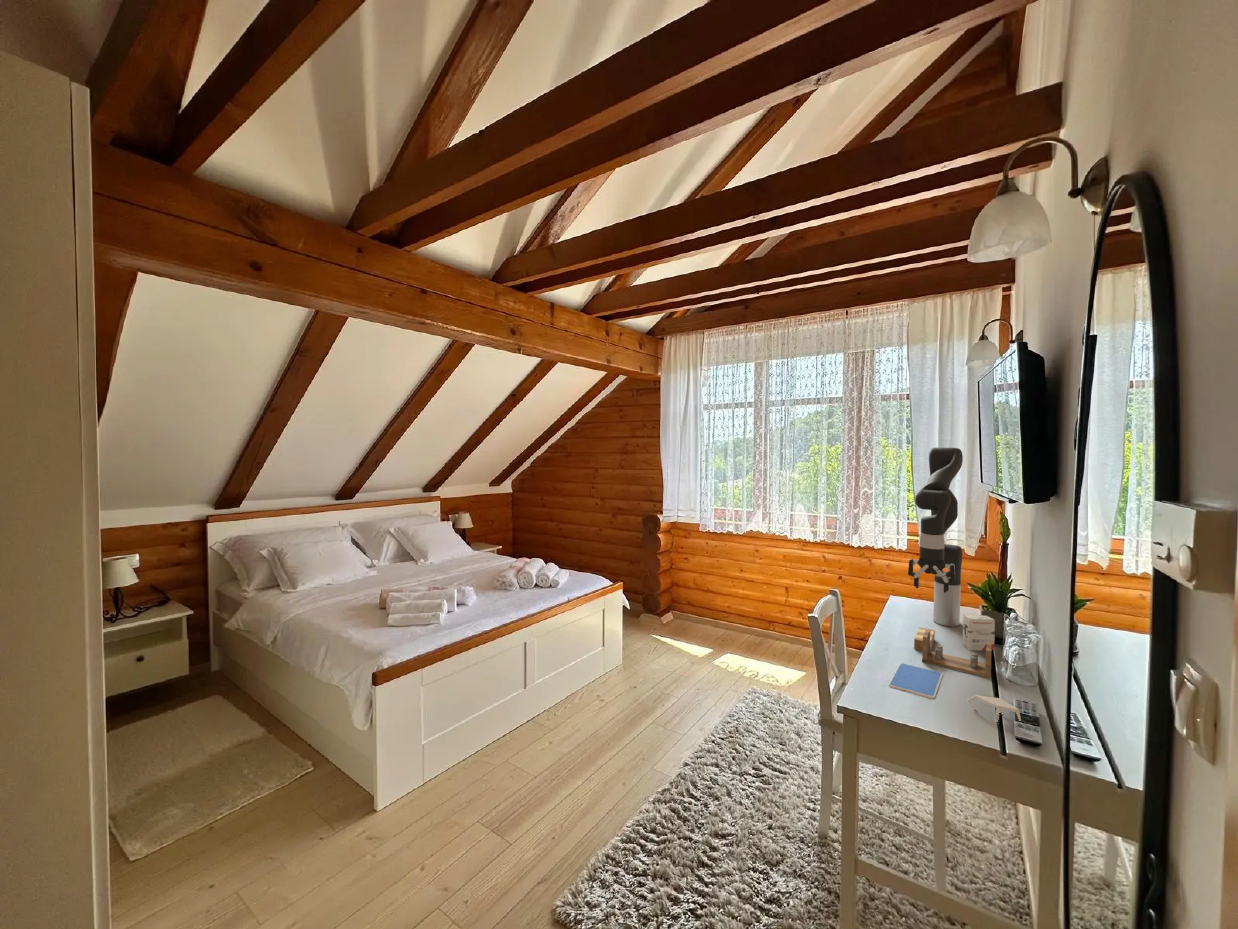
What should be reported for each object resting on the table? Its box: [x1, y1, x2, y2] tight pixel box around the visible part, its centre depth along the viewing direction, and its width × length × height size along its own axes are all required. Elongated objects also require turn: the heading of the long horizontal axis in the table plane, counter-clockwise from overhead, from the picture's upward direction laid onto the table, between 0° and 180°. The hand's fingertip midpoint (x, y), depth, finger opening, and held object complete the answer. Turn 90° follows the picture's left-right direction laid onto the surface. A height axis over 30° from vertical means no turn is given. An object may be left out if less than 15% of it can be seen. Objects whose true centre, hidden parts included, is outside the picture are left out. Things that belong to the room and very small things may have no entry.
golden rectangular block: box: [913, 627, 936, 651], centre depth 187 cm, size 14×5×4 cm, turn 142°
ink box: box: [962, 614, 996, 652], centre depth 183 cm, size 9×5×12 cm, turn 84°
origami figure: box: [966, 694, 1022, 723], centre depth 139 cm, size 12×8×5 cm
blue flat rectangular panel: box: [887, 662, 943, 700], centre depth 159 cm, size 19×13×1 cm, turn 140°
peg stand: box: [921, 628, 993, 679], centre depth 170 cm, size 9×19×9 cm, turn 51°
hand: (930, 589), depth 178 cm, fingers open, 8 cm apart
